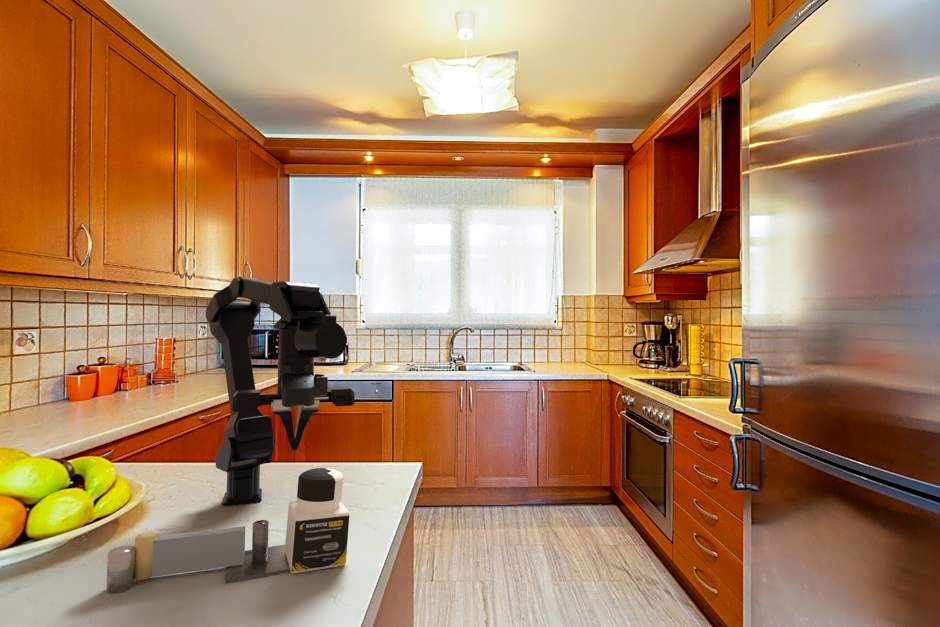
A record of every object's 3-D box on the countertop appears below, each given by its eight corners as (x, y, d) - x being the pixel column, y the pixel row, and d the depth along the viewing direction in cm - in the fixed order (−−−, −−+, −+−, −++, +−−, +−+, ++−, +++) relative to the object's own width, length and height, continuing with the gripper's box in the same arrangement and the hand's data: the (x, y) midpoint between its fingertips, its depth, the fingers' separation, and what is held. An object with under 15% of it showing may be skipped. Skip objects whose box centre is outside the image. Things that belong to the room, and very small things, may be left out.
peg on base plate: (228, 556, 68) (229, 516, 68) (289, 546, 71) (290, 508, 71) (224, 583, 60) (226, 539, 61) (292, 571, 63) (293, 529, 64)
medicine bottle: (290, 574, 62) (298, 480, 62) (284, 552, 68) (291, 466, 69) (346, 566, 65) (353, 476, 66) (335, 545, 71) (341, 463, 72)
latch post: (109, 584, 60) (111, 547, 60) (136, 579, 61) (137, 543, 61) (103, 595, 57) (104, 557, 58) (131, 590, 59) (132, 553, 59)
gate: (244, 558, 66) (245, 521, 66) (242, 566, 64) (243, 527, 64) (137, 572, 62) (138, 533, 62) (130, 581, 60) (132, 540, 60)
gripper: (231, 360, 69) (229, 468, 69) (361, 358, 77) (359, 456, 76) (235, 356, 80) (233, 451, 79) (349, 355, 87) (348, 441, 86)
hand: (294, 450), depth 80 cm, fingers closed
